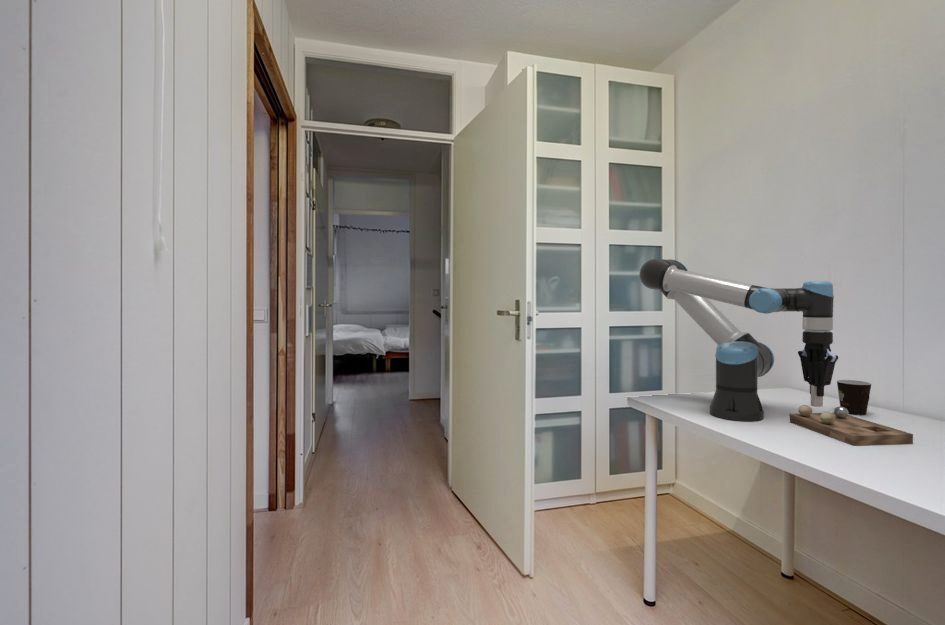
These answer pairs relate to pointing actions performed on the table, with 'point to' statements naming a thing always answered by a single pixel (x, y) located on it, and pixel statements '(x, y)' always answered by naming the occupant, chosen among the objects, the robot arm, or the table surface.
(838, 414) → the steel ball
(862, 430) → the walnut plate
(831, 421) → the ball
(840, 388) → the coffee mug
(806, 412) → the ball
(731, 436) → the table surface
